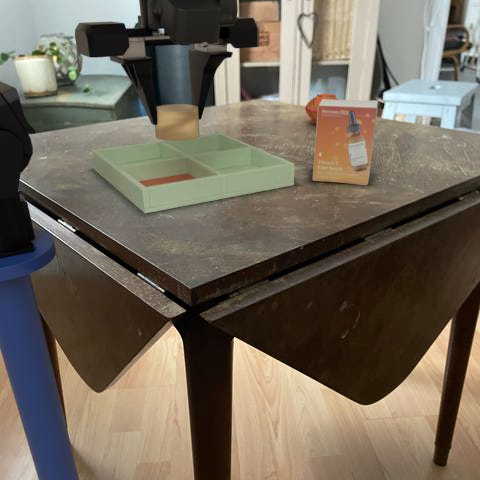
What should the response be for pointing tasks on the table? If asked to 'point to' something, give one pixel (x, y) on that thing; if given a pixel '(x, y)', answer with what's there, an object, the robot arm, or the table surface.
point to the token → (177, 122)
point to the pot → (313, 105)
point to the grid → (190, 171)
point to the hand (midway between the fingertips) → (176, 121)
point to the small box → (344, 141)
